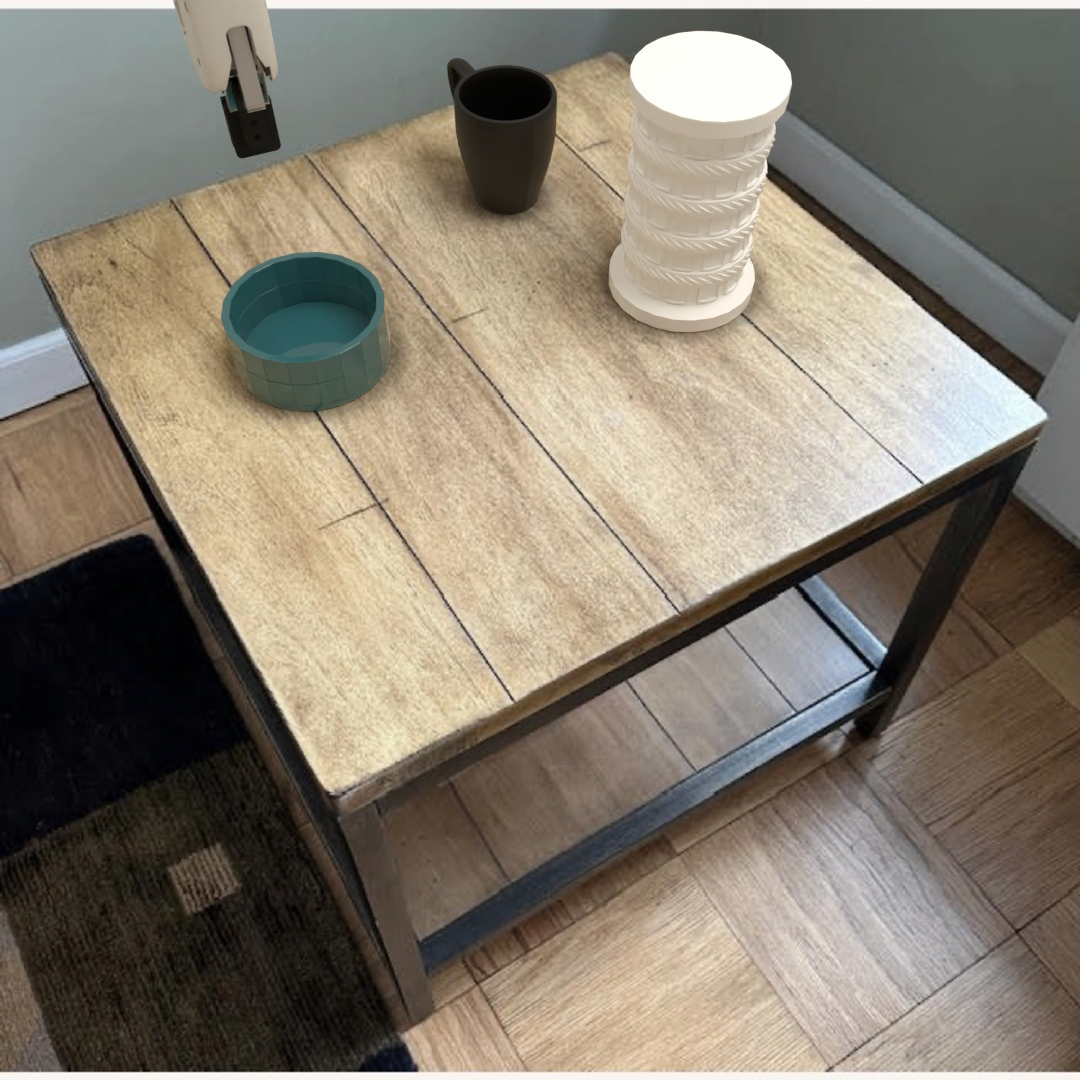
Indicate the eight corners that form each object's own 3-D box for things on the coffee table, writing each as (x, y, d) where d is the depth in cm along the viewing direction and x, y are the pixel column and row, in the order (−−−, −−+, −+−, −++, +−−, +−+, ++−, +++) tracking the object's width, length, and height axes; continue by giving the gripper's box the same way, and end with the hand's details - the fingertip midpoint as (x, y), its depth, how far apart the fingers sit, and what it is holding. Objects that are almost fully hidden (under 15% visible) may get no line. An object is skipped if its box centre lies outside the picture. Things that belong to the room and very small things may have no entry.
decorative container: (587, 252, 90) (599, 44, 75) (715, 223, 92) (750, 16, 78) (641, 347, 84) (665, 139, 69) (777, 313, 86) (828, 105, 71)
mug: (499, 132, 100) (497, 32, 92) (573, 203, 94) (577, 102, 86) (420, 162, 97) (411, 61, 89) (491, 236, 91) (488, 135, 83)
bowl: (230, 416, 79) (214, 366, 75) (242, 306, 86) (228, 255, 82) (391, 407, 80) (384, 357, 76) (390, 298, 87) (383, 248, 83)
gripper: (104, -168, 67) (183, 103, 82) (151, -53, 59) (229, 223, 74) (225, -188, 69) (281, 81, 84) (287, -79, 61) (337, 197, 76)
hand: (257, 147), depth 79 cm, fingers closed
